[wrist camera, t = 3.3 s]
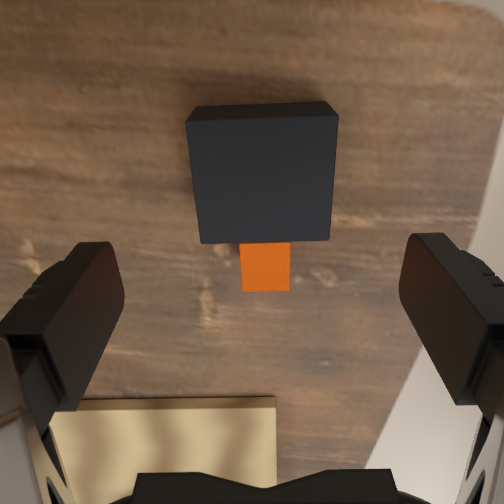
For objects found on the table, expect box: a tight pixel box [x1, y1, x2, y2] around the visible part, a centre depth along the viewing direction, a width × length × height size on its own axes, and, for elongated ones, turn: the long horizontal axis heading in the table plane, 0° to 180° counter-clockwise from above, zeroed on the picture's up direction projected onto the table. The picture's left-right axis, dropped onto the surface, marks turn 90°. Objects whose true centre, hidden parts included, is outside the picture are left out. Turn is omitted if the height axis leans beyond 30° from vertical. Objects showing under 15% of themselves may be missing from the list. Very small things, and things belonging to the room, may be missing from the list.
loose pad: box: [185, 102, 339, 291], centre depth 18 cm, size 6×8×3 cm
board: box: [49, 397, 277, 504], centre depth 33 cm, size 19×21×1 cm
